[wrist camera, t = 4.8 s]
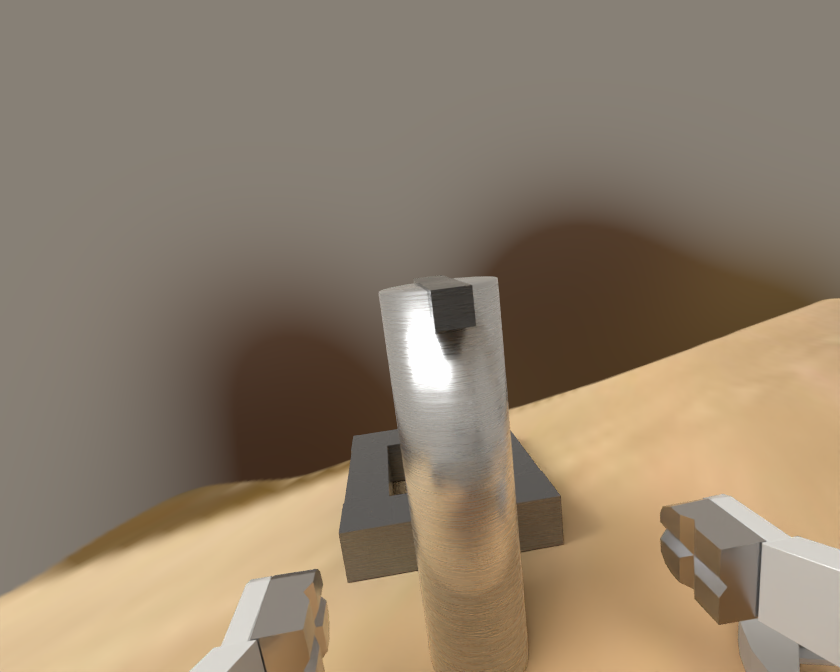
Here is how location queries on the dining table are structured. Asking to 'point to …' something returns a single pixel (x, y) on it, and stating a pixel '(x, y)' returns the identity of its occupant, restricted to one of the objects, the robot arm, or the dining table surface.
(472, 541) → the keyed metal peg
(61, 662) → the dining table surface
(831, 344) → the dining table surface
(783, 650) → the adjustable wrench
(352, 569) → the socket block
